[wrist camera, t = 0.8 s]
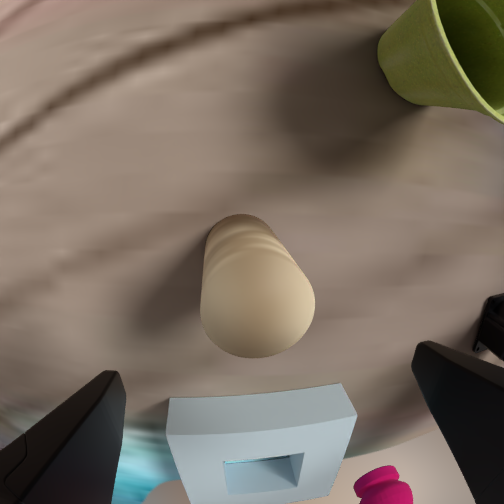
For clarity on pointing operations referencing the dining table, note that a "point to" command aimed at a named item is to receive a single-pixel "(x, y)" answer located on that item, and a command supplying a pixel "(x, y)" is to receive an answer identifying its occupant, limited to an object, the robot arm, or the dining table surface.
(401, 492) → the pepper mill
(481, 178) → the dining table surface
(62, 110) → the dining table surface
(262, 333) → the birch peg
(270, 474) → the socket block
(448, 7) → the plant pot
